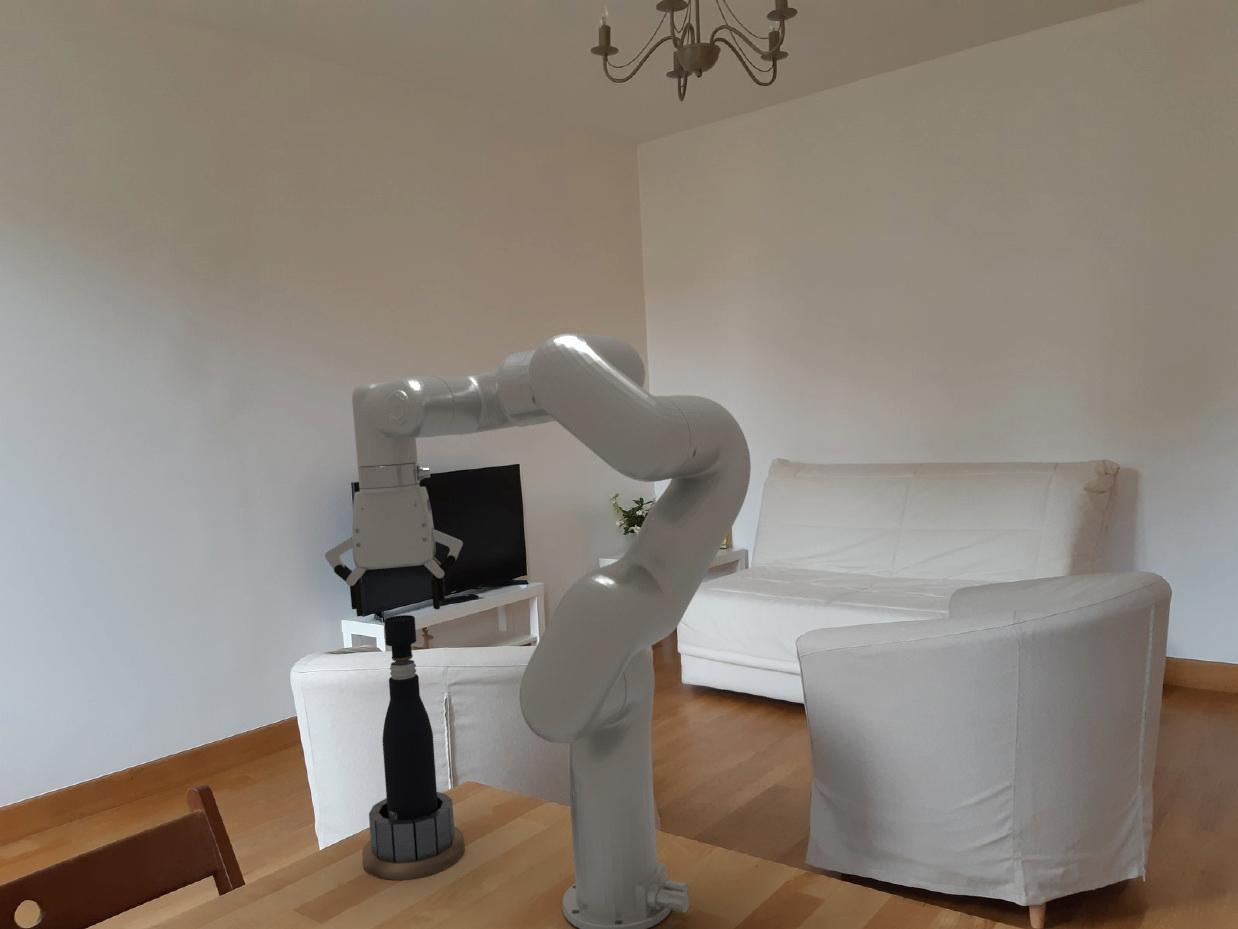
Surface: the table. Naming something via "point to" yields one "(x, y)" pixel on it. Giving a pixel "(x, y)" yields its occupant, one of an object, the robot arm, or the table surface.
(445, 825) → the bottle stand
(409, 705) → the black tall rounded piece
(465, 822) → the table surface
